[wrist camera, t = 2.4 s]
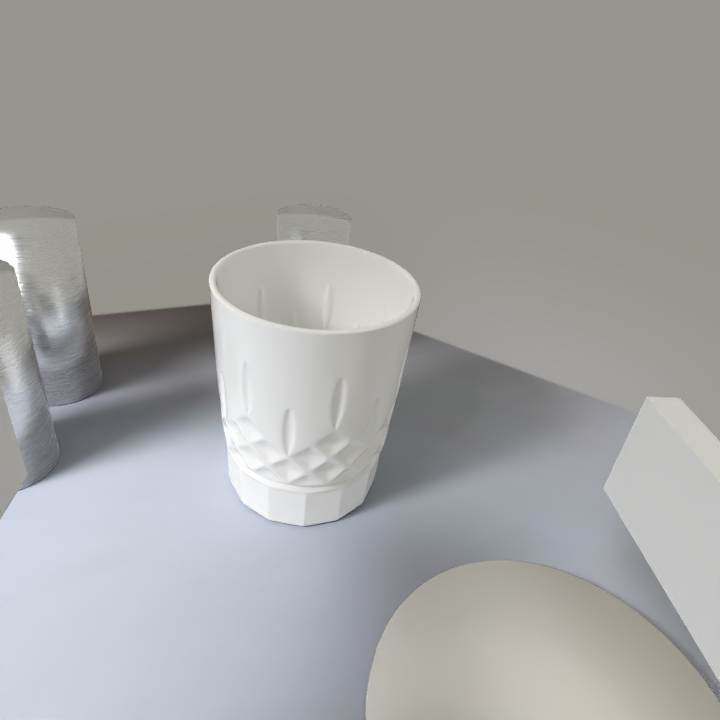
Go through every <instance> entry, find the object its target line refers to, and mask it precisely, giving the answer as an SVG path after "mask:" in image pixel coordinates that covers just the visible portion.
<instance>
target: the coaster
mask: <svg viewBox="0 0 720 720" xmlns="http://www.w3.org/2000/svg"><path fill="white" fill-rule="evenodd" d="M365 720H720V702H719V700H718V698H717V697H716V696H715V694H714V693H713V691H712V690H711V689H710V687H709V686H708V685H707V683H706V682H705V680H704V679H703V678H702V676H701V675H700V674H699V672H698V671H697V670H696V669H695V668H694V667H693V665H692V664H691V663H690V662H689V661H688V660H687V658H686V657H685V656H684V655H683V654H682V653H681V652H680V651H679V650H678V649H677V648H676V647H675V646H674V645H673V644H672V643H671V642H670V641H669V639H668V638H667V637H666V636H665V635H664V634H662V633H661V632H660V631H659V630H658V629H657V628H656V627H654V626H653V625H652V624H651V623H650V622H649V621H647V620H646V619H645V618H644V617H643V616H641V615H640V614H639V613H637V612H636V611H635V610H633V609H632V608H630V607H629V606H628V605H626V604H625V603H624V602H622V601H620V600H619V599H617V598H616V597H614V596H612V595H611V594H609V593H608V592H606V591H604V590H603V589H601V588H599V587H597V586H595V585H593V584H591V583H589V582H587V581H585V580H583V579H580V578H578V577H576V576H573V575H571V574H568V573H566V572H563V571H560V570H557V569H553V568H550V567H547V566H543V565H538V564H533V563H528V562H522V561H511V560H487V561H480V562H473V563H468V564H464V565H461V566H457V567H454V568H451V569H449V570H447V571H444V572H442V573H440V574H438V575H436V576H434V577H433V578H431V579H429V580H428V581H426V582H425V583H423V584H422V585H420V586H419V587H418V588H417V589H416V590H415V591H414V592H412V593H411V594H410V595H409V596H408V597H407V598H406V599H405V600H404V602H403V603H402V604H401V605H400V606H399V607H398V609H397V610H396V611H395V613H394V614H393V616H392V618H391V619H390V621H389V622H388V624H387V626H386V627H385V629H384V632H383V634H382V636H381V639H380V641H379V643H378V646H377V649H376V652H375V656H374V659H373V663H372V667H371V671H370V675H369V679H368V687H367V694H366V701H365Z"/></svg>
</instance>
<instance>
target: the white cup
mask: <svg viewBox="0 0 720 720" xmlns="http://www.w3.org/2000/svg"><path fill="white" fill-rule="evenodd" d="M209 291H210V301H211V312H212V323H213V334H214V346H215V357H216V369H217V380H218V389H219V396H220V402H221V414H222V424H223V428H224V433H225V437H226V441H227V453H228V466H229V478H230V481H231V483H232V485H233V486H234V488H235V490H236V492H237V494H238V496H239V498H240V500H241V502H242V503H243V504H245V505H246V506H248V507H249V508H251V509H252V510H254V511H255V512H257V513H258V514H260V515H262V516H263V517H265V518H266V519H268V520H270V521H276V522H281V523H287V524H292V525H298V526H309V525H314V524H320V523H325V522H330V521H336V520H338V519H340V518H341V517H343V516H344V515H346V514H347V513H349V512H350V511H352V510H353V509H355V508H356V507H358V506H359V505H361V504H362V503H363V501H364V499H365V497H366V495H367V493H368V491H369V489H370V487H371V485H372V483H373V481H374V477H375V473H376V469H377V464H378V460H379V456H380V452H381V450H382V448H383V446H384V443H385V439H386V436H387V432H388V428H389V423H390V419H391V416H392V413H393V409H394V406H395V402H396V399H397V396H398V392H399V388H400V383H401V379H402V375H403V371H404V367H405V362H406V358H407V354H408V350H409V346H410V341H411V337H412V333H413V329H414V325H415V321H416V317H417V313H418V309H419V304H420V301H421V290H420V287H419V285H418V283H417V281H416V280H415V279H414V277H413V276H412V275H411V274H410V273H409V272H408V271H406V270H405V269H404V268H403V267H401V266H400V265H398V264H397V263H395V262H393V261H391V260H389V259H387V258H385V257H383V256H380V255H378V254H375V253H373V252H370V251H367V250H364V249H360V248H357V247H352V246H348V245H343V244H338V243H331V242H323V241H312V240H284V241H273V242H266V243H260V244H255V245H251V246H248V247H244V248H241V249H238V250H236V251H234V252H232V253H230V254H228V255H226V256H224V257H223V258H222V259H220V260H219V261H218V262H217V263H216V264H215V265H214V266H213V268H212V269H211V272H210V274H209Z"/></svg>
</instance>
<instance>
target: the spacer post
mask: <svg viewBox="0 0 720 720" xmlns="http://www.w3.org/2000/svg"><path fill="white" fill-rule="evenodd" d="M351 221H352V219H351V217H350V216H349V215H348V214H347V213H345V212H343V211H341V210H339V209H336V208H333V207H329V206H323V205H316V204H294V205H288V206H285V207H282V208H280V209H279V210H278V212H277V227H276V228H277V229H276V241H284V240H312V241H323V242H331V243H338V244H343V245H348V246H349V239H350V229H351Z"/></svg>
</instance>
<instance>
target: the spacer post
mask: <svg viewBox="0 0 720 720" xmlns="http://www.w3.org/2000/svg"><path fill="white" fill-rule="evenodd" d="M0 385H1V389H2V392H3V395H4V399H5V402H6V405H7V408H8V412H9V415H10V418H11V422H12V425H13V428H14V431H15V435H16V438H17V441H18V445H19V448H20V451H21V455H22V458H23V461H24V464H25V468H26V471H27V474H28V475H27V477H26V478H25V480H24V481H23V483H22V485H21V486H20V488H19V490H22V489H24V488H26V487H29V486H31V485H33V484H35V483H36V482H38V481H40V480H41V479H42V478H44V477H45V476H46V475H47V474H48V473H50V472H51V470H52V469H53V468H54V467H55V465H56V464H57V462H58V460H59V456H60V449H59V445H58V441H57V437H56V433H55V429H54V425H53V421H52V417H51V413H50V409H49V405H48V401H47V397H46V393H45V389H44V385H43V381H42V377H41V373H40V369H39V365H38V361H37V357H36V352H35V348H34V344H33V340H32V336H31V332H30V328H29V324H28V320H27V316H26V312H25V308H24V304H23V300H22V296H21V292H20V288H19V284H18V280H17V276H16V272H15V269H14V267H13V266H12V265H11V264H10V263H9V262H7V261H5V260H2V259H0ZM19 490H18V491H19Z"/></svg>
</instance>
